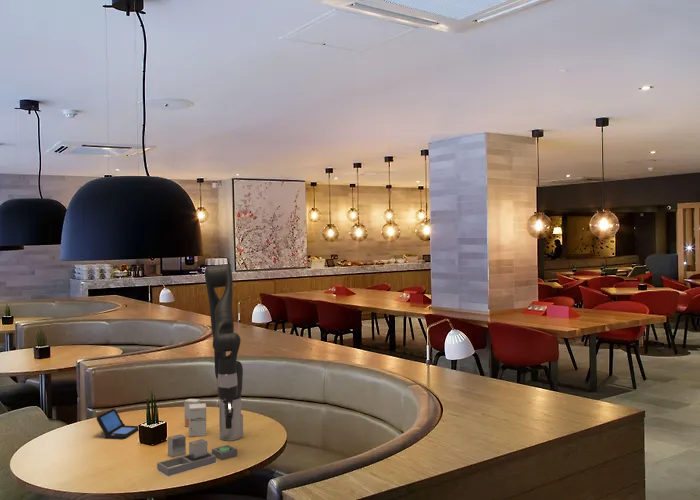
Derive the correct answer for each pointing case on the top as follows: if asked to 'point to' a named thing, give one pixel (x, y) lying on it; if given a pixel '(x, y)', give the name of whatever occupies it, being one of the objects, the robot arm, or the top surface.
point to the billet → (176, 445)
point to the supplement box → (197, 419)
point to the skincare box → (187, 402)
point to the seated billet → (197, 450)
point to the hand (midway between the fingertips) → (228, 428)
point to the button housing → (224, 453)
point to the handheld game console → (115, 426)
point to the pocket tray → (183, 464)
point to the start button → (224, 449)
